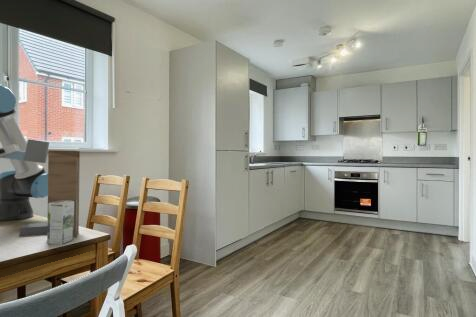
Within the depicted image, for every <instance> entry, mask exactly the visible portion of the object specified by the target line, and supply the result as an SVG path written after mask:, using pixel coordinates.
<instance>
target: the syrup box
mask: <svg viewBox="0 0 476 317" xmlns="http://www.w3.org/2000/svg"><path fill="white" fill-rule="evenodd" d="M47 223H48V236H47V237H46V238H47V242H46V243H47V244H48V245H64V244H67V243H69V242H72V241H74V238H73V229H74V201H70V200H60V201H55V202H50V203H49V204H48V203H47Z"/></svg>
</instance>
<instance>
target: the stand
mask: <svg viewBox="0 0 476 317" xmlns="http://www.w3.org/2000/svg"><path fill="white" fill-rule="evenodd" d="M80 153H81V152H80V151H79V150H52V149H51V150H49V149H48V152H47V157H48V159H47V160H48V163H47V165H48V166H47V167H48V172H47V173H48V196H47V205H48V204H49V203H50V202H55V201H60V200H70V201H74V229H73V239H76V238H77V236H78V234H79V232H80V231H79V230H80V227H79V226H80V225H79V224H80V162H81V161H80V157H81V155H80ZM46 235H47V236H48V226H47V234H46Z"/></svg>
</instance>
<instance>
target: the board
mask: <svg viewBox="0 0 476 317" xmlns="http://www.w3.org/2000/svg"><path fill="white" fill-rule="evenodd" d="M47 226H48V222H36V223H25V224H24V225H22V226H21V227H19V237H22V236H36V235H47Z"/></svg>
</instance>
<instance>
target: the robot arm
mask: <svg viewBox="0 0 476 317" xmlns="http://www.w3.org/2000/svg"><path fill="white" fill-rule="evenodd" d="M16 103H17V98H16V96H15V94H14V92H13V91H12V90H11V89H10V88H9V87H7V86H5V85H3V84H0V145H1V146H2V147H0V156H3V155H6V154H10V153H13V152H16V151H23V152H26V147H27V141H26V138H25V137H24V135H23V133H22V130H21V129H20V127H19V124H18V122H17V121H16V119H15V115H16V109H15V108H16ZM9 161H10V163H11V165H12V166H13V169H14V170H13V169H12V170H5V171H2V172H1V173H0V221H15V220H16V221H17V220H24V219H28V218H32V217H34V210H33V207H32V204H31V202H30V198H33V199H34V198H35V199H41V198H46V197H47V198H48V172H46V171H45V168H44V166H43V165H41V164H38V162H31V161H24V160H16V159H9Z"/></svg>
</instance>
